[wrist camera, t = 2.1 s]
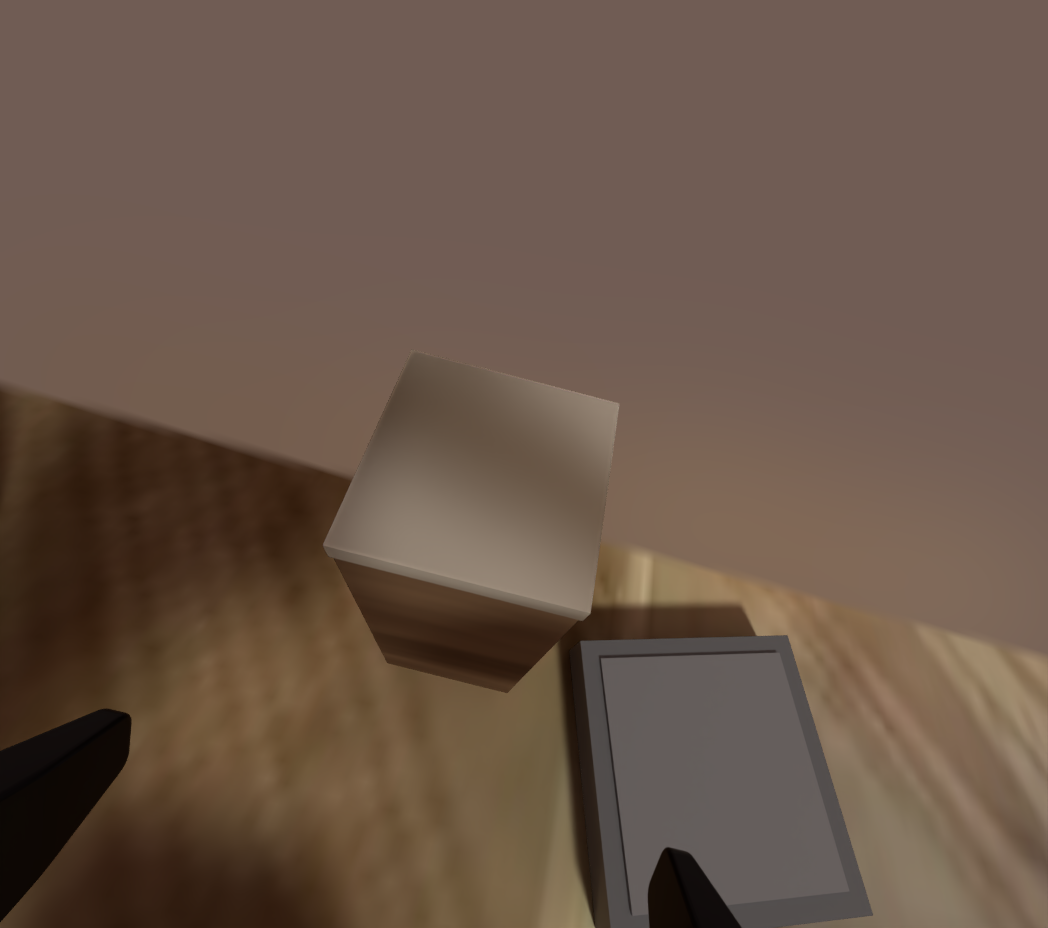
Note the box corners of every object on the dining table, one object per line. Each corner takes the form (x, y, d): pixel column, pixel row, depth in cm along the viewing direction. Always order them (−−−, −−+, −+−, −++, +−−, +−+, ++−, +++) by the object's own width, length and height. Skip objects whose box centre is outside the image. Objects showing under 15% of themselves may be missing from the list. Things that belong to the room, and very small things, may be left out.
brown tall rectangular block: (508, 694, 20) (590, 613, 9) (385, 663, 20) (322, 545, 9) (532, 575, 23) (619, 403, 12) (424, 548, 23) (411, 349, 12)
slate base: (832, 901, 18) (876, 916, 17) (595, 928, 17) (614, 949, 15) (761, 644, 23) (789, 634, 21) (569, 650, 22) (581, 640, 20)
